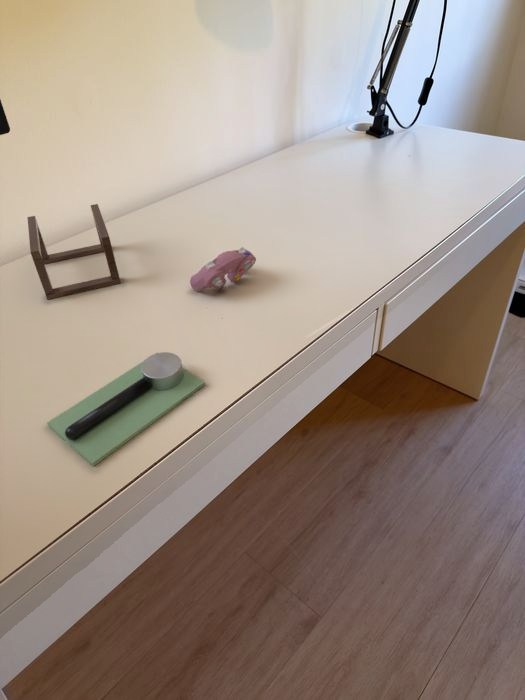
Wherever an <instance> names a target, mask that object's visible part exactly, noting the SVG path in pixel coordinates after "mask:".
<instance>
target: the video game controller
mask: <svg viewBox="0 0 525 700" xmlns="http://www.w3.org/2000/svg"><path fill="white" fill-rule="evenodd" d="M256 262H257V257H256V256H255V255H254V254H253V253H252V252H251V251H250V250H248V249H245V248H244V247H243V246H242V247H240V248H239V249H237V250H236V249H235V250H234V249H233V250H227V251H223V252H221V253H220V254H218V255H217V256H216V257H215V258H214V259H213V260H211V261H209V262H207V263H206V264H205V265H203V266H202V267H201V268H200V270H199V271H197V272H196V273H195V274H192V276H191V277H190V278H189V279H190V280H189V284H190V287H191V288H192V289H193V290H194V291H196V292H203V291H205V290H207V289H213V290H214V291H219V290H221V289H222V288H224V286H226V284H227V279H228V280H229V281H230V282H231V283H235V282H238V281H239V280H240V279H241V278H242V277H243V275H245V273H246V272H247V271H249V270H250V269H252V267H253V266H254V265H255V264H256ZM225 277H227V279H226V278H225Z"/></svg>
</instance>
